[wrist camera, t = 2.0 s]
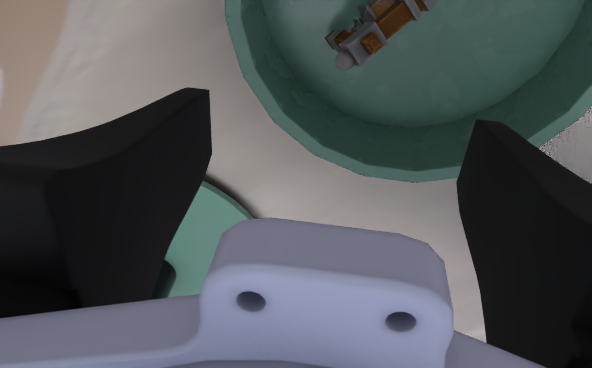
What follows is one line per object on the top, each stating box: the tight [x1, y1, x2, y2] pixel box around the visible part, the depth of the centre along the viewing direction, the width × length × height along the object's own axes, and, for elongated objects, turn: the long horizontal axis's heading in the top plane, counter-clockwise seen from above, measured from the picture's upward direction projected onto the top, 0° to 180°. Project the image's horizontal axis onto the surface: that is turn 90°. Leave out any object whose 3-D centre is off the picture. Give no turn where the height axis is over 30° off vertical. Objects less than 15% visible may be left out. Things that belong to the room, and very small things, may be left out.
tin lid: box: [150, 181, 254, 300], centre depth 29 cm, size 15×15×6 cm
